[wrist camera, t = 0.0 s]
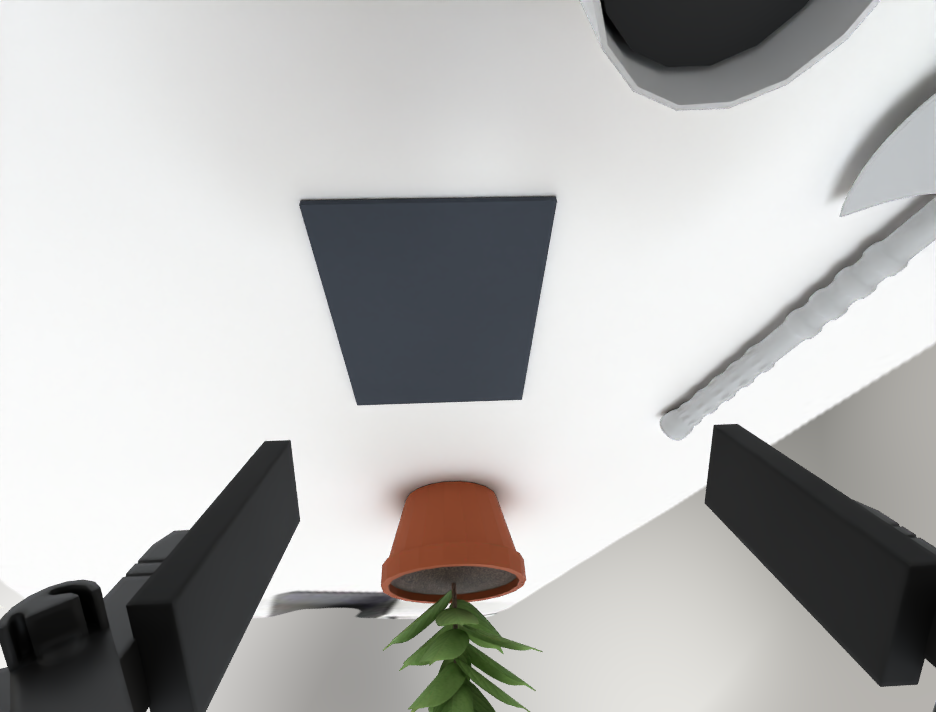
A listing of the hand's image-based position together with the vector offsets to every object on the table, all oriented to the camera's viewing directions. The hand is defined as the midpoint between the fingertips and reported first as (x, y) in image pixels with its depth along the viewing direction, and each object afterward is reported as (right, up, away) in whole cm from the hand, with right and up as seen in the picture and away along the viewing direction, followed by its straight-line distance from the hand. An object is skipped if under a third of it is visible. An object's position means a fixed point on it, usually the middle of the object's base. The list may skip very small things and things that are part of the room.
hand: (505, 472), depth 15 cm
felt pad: (-3, +6, +17) cm, 18 cm away
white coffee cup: (+4, +20, +1) cm, 20 cm away
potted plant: (-3, -12, +39) cm, 41 cm away
